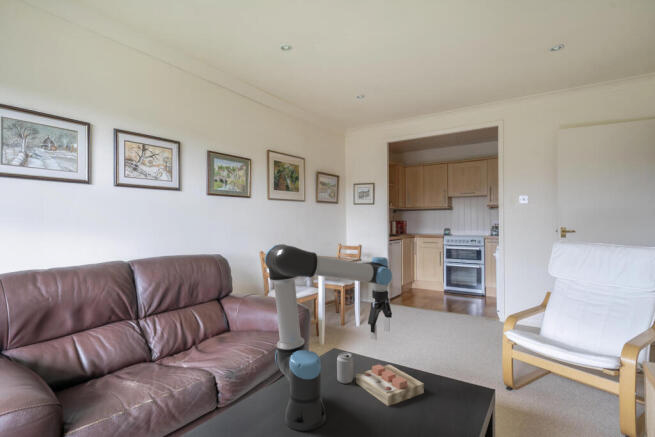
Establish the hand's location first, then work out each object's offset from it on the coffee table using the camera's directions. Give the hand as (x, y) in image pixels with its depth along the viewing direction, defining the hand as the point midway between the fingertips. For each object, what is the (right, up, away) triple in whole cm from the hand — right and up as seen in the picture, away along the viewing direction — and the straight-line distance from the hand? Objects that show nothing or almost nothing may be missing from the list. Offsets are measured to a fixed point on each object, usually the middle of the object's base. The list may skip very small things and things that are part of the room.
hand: (380, 334), depth 154 cm
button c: (-1, -17, -4) cm, 18 cm away
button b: (+2, -17, -10) cm, 20 cm away
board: (+2, -20, -10) cm, 22 cm away
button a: (+6, -17, -16) cm, 24 cm away
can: (-17, -21, -3) cm, 27 cm away
